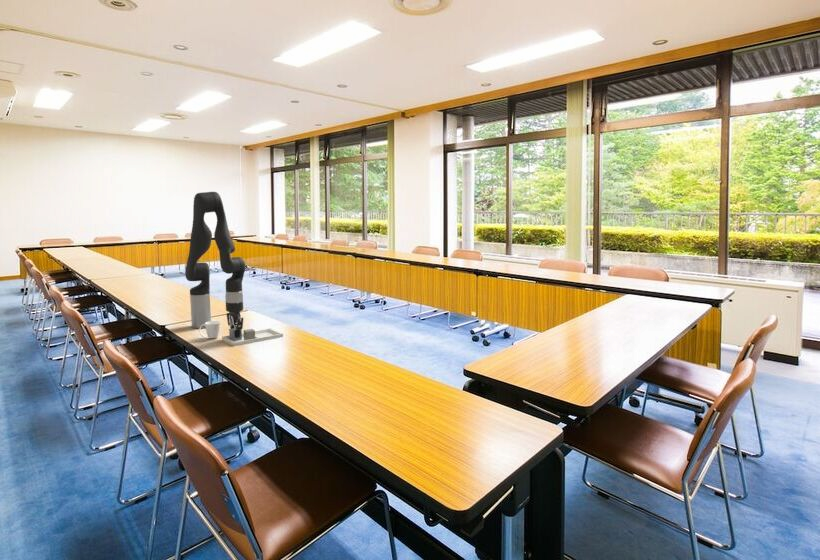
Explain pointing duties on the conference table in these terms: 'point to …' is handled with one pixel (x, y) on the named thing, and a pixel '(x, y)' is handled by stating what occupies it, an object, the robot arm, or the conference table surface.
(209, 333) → the cup
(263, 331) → the divided tray
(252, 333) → the stone
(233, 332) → the matte grey cube
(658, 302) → the conference table surface
